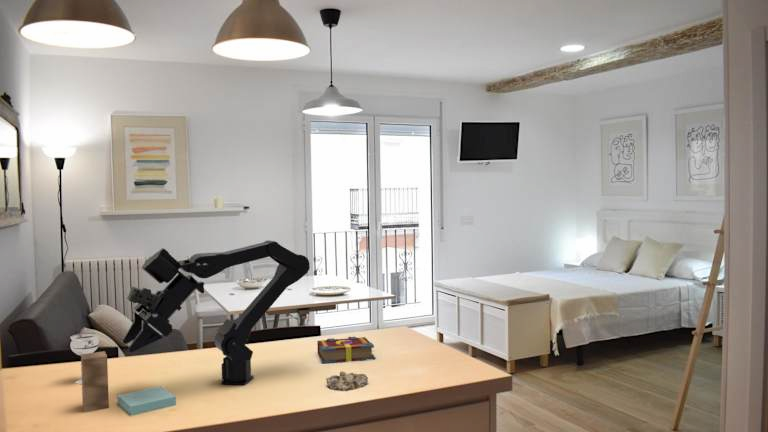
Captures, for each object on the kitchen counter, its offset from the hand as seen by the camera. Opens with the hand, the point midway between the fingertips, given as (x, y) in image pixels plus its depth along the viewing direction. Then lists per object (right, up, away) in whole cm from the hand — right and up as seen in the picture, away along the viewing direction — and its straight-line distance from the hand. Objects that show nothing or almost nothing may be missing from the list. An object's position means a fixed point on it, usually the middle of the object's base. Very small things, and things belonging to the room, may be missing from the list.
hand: (126, 346), depth 142 cm
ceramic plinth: (+6, -13, -2) cm, 15 cm away
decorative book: (+50, -11, +36) cm, 62 cm away
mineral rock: (+51, -12, +10) cm, 54 cm away
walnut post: (-6, -13, -3) cm, 15 cm away
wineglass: (-18, -13, +16) cm, 27 cm away
